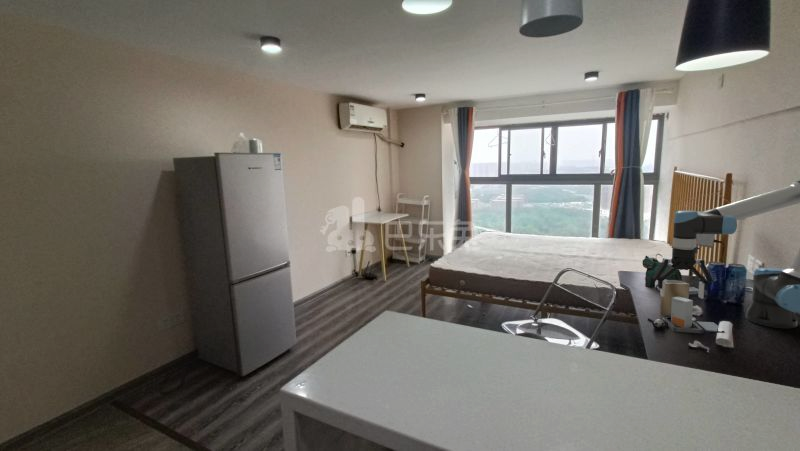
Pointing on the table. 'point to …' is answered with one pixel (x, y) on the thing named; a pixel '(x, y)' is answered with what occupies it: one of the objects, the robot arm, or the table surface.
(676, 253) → the robot arm
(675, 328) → the grey picture frame
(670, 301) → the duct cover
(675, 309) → the skincare box
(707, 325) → the rubber mat
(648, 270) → the ceramic cat
